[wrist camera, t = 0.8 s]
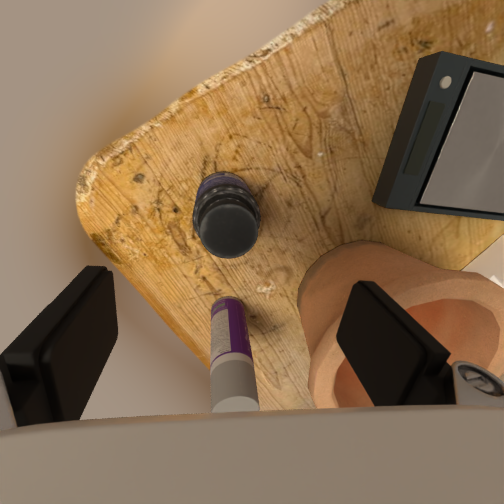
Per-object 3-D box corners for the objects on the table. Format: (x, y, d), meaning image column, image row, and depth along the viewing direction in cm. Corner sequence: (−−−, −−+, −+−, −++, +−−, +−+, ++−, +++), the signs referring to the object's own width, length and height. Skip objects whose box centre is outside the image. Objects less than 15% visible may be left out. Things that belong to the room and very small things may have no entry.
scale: (371, 201, 33) (386, 208, 30) (418, 58, 27) (443, 49, 24) (487, 214, 36) (511, 222, 33) (554, 89, 30) (590, 85, 27)
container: (250, 310, 38) (270, 411, 24) (225, 327, 38) (231, 434, 25) (230, 290, 36) (240, 387, 22) (204, 308, 37) (198, 414, 23)
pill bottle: (186, 189, 29) (172, 220, 19) (232, 159, 28) (241, 177, 19) (216, 232, 32) (218, 279, 22) (259, 206, 31) (280, 242, 21)
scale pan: (414, 201, 31) (419, 203, 30) (467, 72, 26) (474, 71, 25) (502, 212, 33) (509, 213, 33) (567, 95, 28) (576, 94, 27)
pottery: (251, 276, 35) (272, 362, 22) (400, 189, 33) (520, 230, 20) (314, 365, 45) (355, 461, 32) (434, 303, 42) (531, 380, 29)
